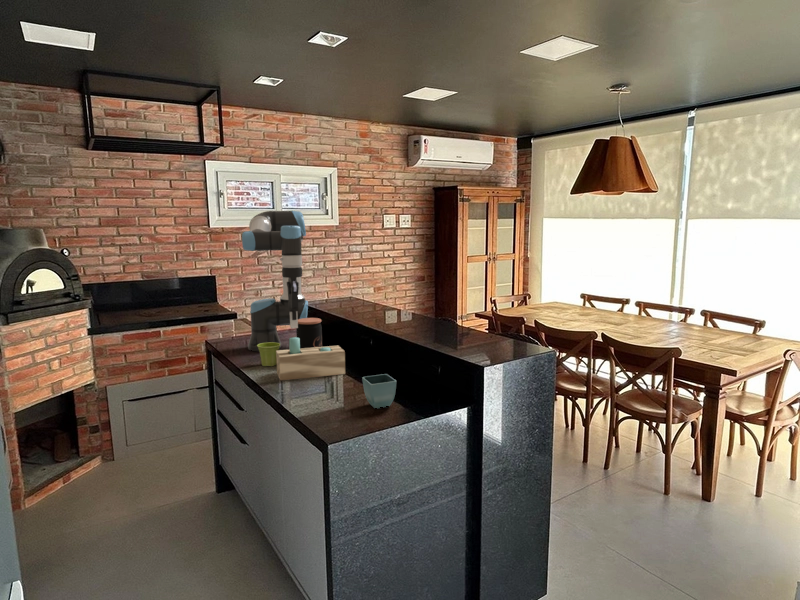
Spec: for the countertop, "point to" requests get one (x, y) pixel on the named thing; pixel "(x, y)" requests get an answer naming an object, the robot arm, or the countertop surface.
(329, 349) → the peg
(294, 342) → the peg
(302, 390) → the countertop surface
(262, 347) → the plant pot
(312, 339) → the coffee jar
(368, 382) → the flower pot
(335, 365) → the socket block
